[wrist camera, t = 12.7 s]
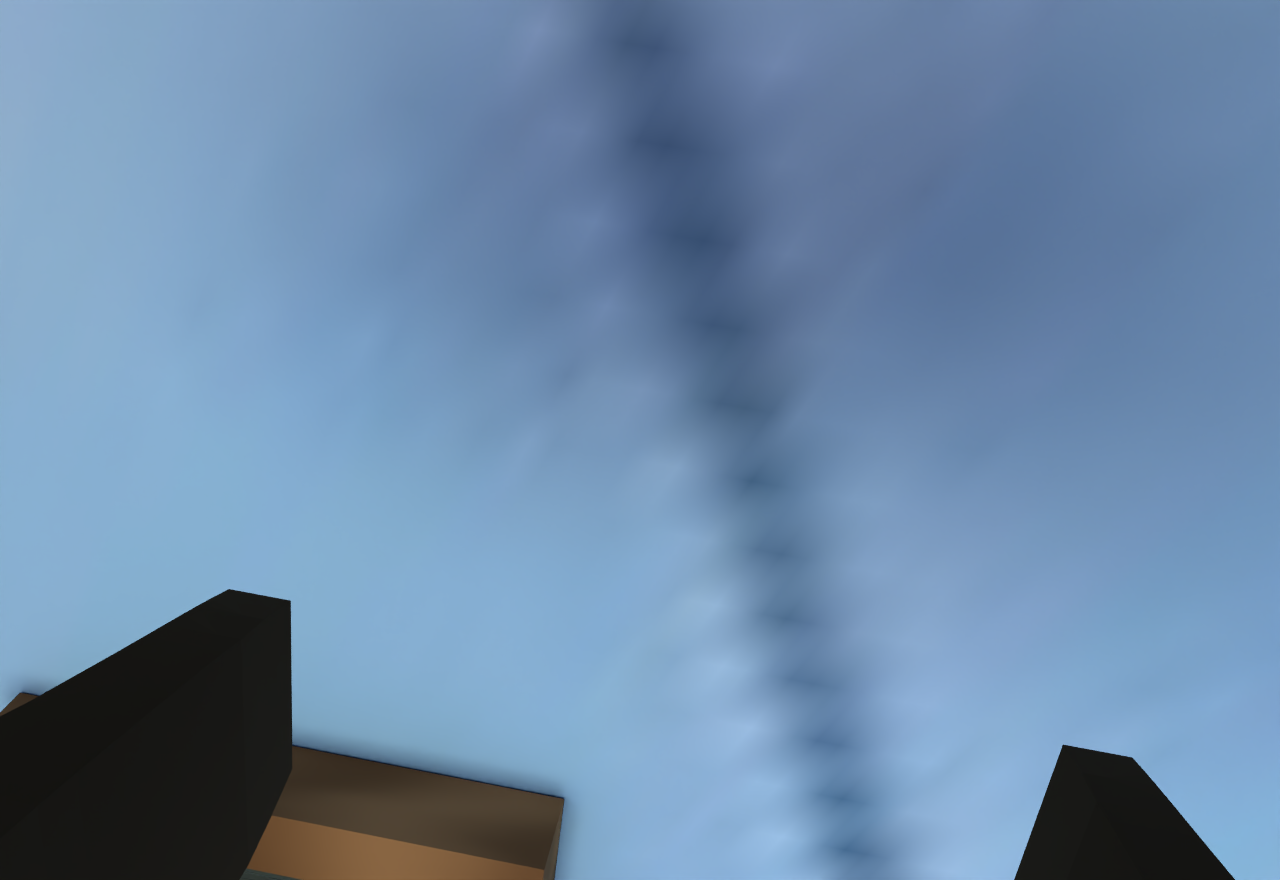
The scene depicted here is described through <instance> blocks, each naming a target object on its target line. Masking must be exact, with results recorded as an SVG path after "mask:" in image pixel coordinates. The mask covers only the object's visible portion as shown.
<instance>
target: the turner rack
mask: <svg viewBox="0 0 1280 880" xmlns="http://www.w3.org/2000/svg"><path fill="white" fill-rule="evenodd" d="M36 697H38V696H35V695H29V694H24V693H19V694H18V695H17V696H16V697H15V698H14V699H13V700H12V701H11V702H10V703H9V704H8V705H7V706H6V707H5V708H4V709H3V710H2V711H1V712H0V716H2V715H4V714H6V713H7V712H9V711H11V710H13V709H15V708H17V707H19V706H21V705H23V704H25V703H27V702H29V701H31V700H33V699H35V698H36ZM563 805H564V799H561V798H556V797H551V796H546V795H541V794H536V793H531V792H525V791H520V790H515V789H510V788H505V787H500V786H495V785H490V784H485V783H479V782H474V781H469V780H464V779H459V778H454V777H449V776H444V775H438V774H433V773H428V772H423V771H418V770H413V769H408V768H403V767H398V766H392V765H387V764H382V763H377V762H372V761H367V760H362V759H357V758H352V757H346V756H341V755H336V754H331V753H326V752H321V751H316V750H311V749H306V748H300V747H295V746H292V771H291V773H290V775H289V778H288V780H287V782H286V784H285V787H284V789H283V791H282V793H281V796H280V798H279V800H278V802H277V805H276V807H275V809H274V811H273V814H272V816H271V818H270V820H269V823H268V825H267V827H266V829H265V831H264V833H263V835H262V837H261V839H260V842H259V844H258V846H257V848H256V850H255V852H254V854H253V856H252V858H251V861H250V863H249V865H248V866H247V869H252V870H257V871H262V872H267V873H272V874H277V875H281V876H286V877H291V878H296V879H301V880H554V877H555V869H556V861H557V853H558V845H559V837H560V829H561V821H562V813H563Z"/></svg>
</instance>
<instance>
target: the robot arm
mask: <svg viewBox="0 0 1280 880" xmlns="http://www.w3.org/2000/svg"><path fill="white" fill-rule="evenodd" d="M291 771H292V686H291V601H289V600H284V599H279V598H273V597H268V596H263V595H257V594H252V593H246V592H241V591H236V590H230V589H228V590H226V591H225V592H223V593H221V594H219V595H217V596H215V597H213V598H211V599H209V600H207V601H206V602H204V603H202V604H200V605H198V606H196V607H195V608H193V609H191V610H189V611H188V612H186V613H184V614H182V615H181V616H179V617H177V618H175V619H174V620H172V621H170V622H168V623H167V624H165V625H163V626H162V627H160V628H158V629H156V630H155V631H153V632H151V633H149V634H148V635H146V636H144V637H143V638H141V639H139V640H137V641H136V642H134V643H132V644H130V645H129V646H127V647H125V648H124V649H122V650H120V651H118V652H117V653H115V654H113V655H111V656H109V657H108V658H106V659H104V660H102V661H101V662H99V663H97V664H95V665H93V666H92V667H90V668H88V669H86V670H85V671H83V672H81V673H79V674H77V675H76V676H74V677H72V678H70V679H69V680H67V681H65V682H63V683H61V684H60V685H58V686H56V687H54V688H53V689H51V690H49V691H47V692H45V693H44V694H42V695H40V696H38V697H36V698H35V699H33V700H31V701H29V702H27V703H25V704H23V705H21V706H19V707H17V708H15V709H13V710H11V711H9V712H7V713H6V714H4V715H2V716H0V880H240V878H241V876H242V875H243V873H244V871H245V870H246V868H247V866H248V865H249V863H250V861H251V858H252V856H253V854H254V852H255V850H256V848H257V846H258V844H259V842H260V839H261V837H262V835H263V833H264V831H265V829H266V827H267V825H268V823H269V820H270V818H271V816H272V814H273V811H274V809H275V807H276V805H277V802H278V800H279V798H280V796H281V793H282V791H283V789H284V787H285V784H286V782H287V780H288V778H289V775H290V773H291ZM1014 880H1235V879H1234V878H1233V877H1232V875H1231V874H1230V873H1229V872H1228V871H1227V869H1226V868H1225V867H1224V866H1223V865H1222V863H1221V862H1220V861H1219V860H1218V859H1217V857H1216V856H1215V855H1214V854H1213V853H1212V851H1211V850H1210V849H1209V848H1208V847H1207V845H1206V844H1205V843H1204V842H1203V841H1202V839H1201V838H1200V837H1199V836H1198V835H1197V833H1196V832H1195V831H1194V830H1193V829H1192V827H1191V826H1190V825H1189V824H1188V822H1187V821H1186V820H1185V819H1184V818H1183V816H1182V815H1181V814H1180V813H1179V812H1178V810H1177V809H1176V808H1175V807H1174V806H1173V804H1172V803H1171V802H1170V801H1169V800H1168V798H1167V797H1166V796H1165V795H1164V794H1163V792H1162V791H1161V790H1160V789H1159V788H1158V786H1157V785H1156V784H1155V783H1154V782H1153V781H1152V779H1151V778H1150V777H1149V776H1148V775H1147V774H1146V772H1145V771H1144V770H1143V769H1142V768H1141V767H1140V766H1139V765H1138V763H1137V762H1136V761H1135V760H1134V759H1133V758H1132V757H1127V756H1121V755H1116V754H1110V753H1105V752H1100V751H1094V750H1089V749H1084V748H1078V747H1073V746H1068V745H1063V746H1062V749H1061V752H1060V754H1059V757H1058V760H1057V763H1056V766H1055V768H1054V771H1053V774H1052V777H1051V779H1050V782H1049V785H1048V788H1047V790H1046V793H1045V796H1044V799H1043V802H1042V804H1041V807H1040V810H1039V813H1038V815H1037V818H1036V821H1035V824H1034V827H1033V829H1032V832H1031V835H1030V838H1029V840H1028V843H1027V846H1026V849H1025V851H1024V854H1023V857H1022V860H1021V863H1020V865H1019V868H1018V871H1017V874H1016V876H1015V879H1014Z"/></svg>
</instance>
